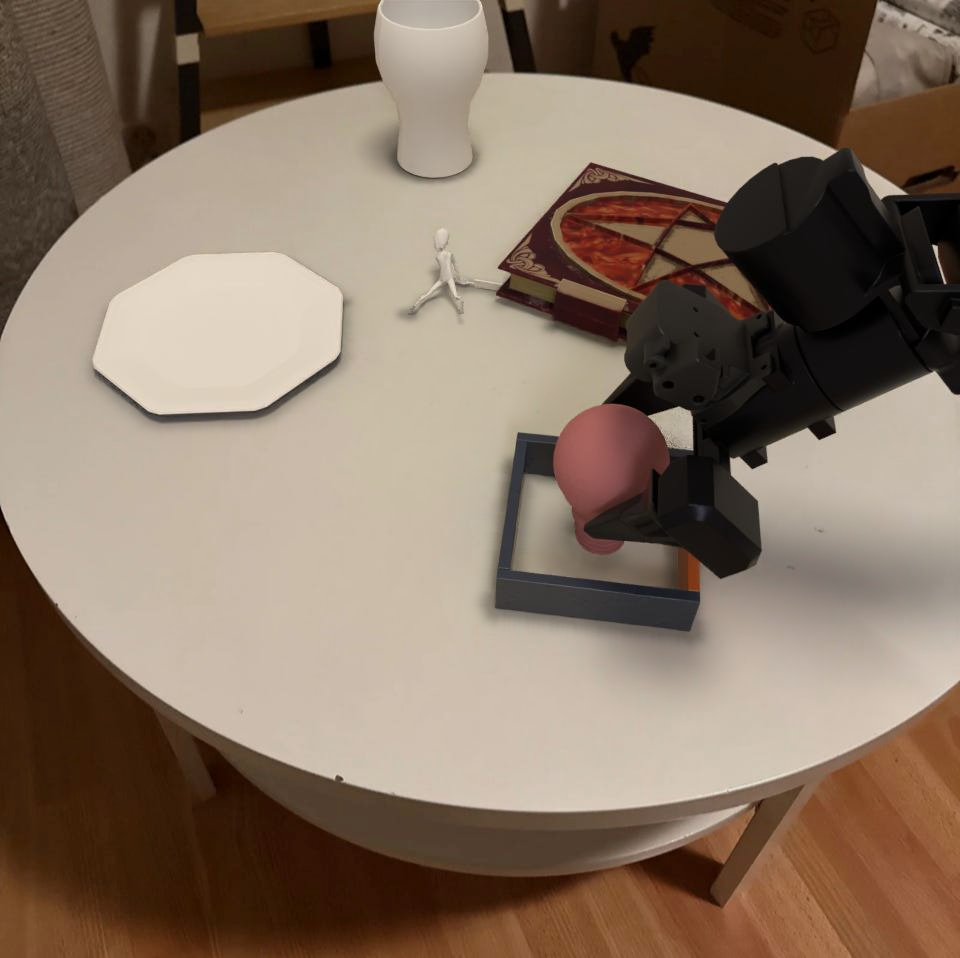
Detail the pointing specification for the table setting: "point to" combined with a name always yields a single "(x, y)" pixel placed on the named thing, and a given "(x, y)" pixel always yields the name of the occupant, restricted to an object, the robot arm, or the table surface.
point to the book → (621, 253)
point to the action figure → (445, 266)
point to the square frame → (580, 593)
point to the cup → (432, 78)
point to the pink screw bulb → (606, 464)
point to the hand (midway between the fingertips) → (591, 474)
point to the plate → (220, 334)
